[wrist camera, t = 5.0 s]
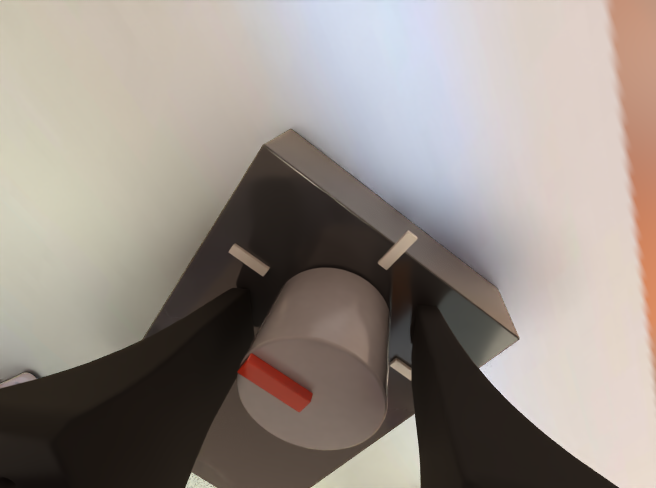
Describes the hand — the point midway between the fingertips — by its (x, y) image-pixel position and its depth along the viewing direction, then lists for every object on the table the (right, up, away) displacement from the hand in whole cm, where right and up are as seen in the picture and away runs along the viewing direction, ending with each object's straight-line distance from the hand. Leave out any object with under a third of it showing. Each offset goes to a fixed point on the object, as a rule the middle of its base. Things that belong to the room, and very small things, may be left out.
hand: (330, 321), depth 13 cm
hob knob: (0, 0, 0) cm, 0 cm away
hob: (-2, -2, +5) cm, 5 cm away
